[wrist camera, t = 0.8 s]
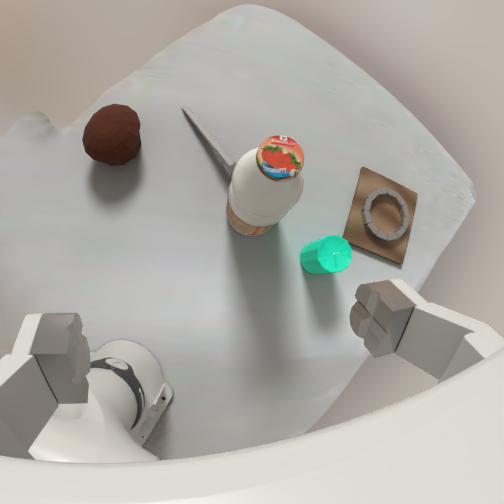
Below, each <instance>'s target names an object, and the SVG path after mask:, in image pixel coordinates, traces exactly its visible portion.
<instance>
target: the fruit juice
mask: <svg viewBox="0 0 504 504" xmlns="http://www.w3.org/2000/svg"><path fill="white" fill-rule="evenodd" d="M303 164H304V155H303V151H302V149H301V147H300V146H299V145H298V144H297V143H296V142H295V141H294V140H292V139H291V138H288V137H285V136H273V137H270V138H268V139H266V140H265V141H264V142H263V143H262V144H261V145H260V147H258V148H255V149H252V150H250V151H249V152H247V153H246V154H244V155H243V156H242V157H241V158H240V160H239V161H238V162H237V164H236V166H235V168H234V171H233V174H232V180H231V183H230V186H229V193H228V199H227V206H226V214H227V218H228V221H229V223H230V224H231V226H232V227H233V228H234V229H235V230H236V231H237V232H239V233H241V234H243V235H246V236H259V235H262V234H264V233H266V232H268V231H269V230H270V229H271V228H272V227H273V226H275V225H276V224H277V223H278V222H279V221H280V220H281V219H282V218H284V217H285V215H286V214H287V213H288V211H289V210H290V209H292V208H293V207H294V206H295V204H296V203H297V202H298V200H299V198H300V196H301V194H302V191H303V185H304V179H303V173H302V170H301V169H302V167H303Z"/></svg>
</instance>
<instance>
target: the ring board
mask: <svg viewBox="0 0 504 504" xmlns="http://www.w3.org/2000/svg"><path fill="white" fill-rule="evenodd" d="M378 188H389V189H391V190H393V191H395V192H397V193H398V194H400V196H401V197H402V198H403V200H404V201H405V202H406V204H407V208H408V212H409V222H408V227H407V229H406V231H405V232H404V233H403V234H402V235H401V237H400V238H398V239H394V240H389V241H381V240H379V239H377V238H374V237H373V236H371V234H370V233H369V232H368V231H367V229H366V228H365V227H364V226H365V225H366V224H365V225H363V221H362V216H361V212H362V211H361V208H362V204H363V200H364V198H365V197H366V196H367V195H368V194H369V193H371V192H372V191H373V190H375V189H378ZM416 200H417V193H415V192H413V191H411V190H410V189H408V188H406V187H404V186H402V185H400V184H398V183H396V182H394V181H392V180H390V179H388V178H386V177H384V176H382V175H380V174H378V173H376V172H374V171H371V170H369V169H367V168H365V167H362V168H361V171H360V175H359V179H358V183H357V187H356V191H355V195H354V198H353V202H352V206H351V209H350V213H349V217H348V220H347V224H346V227H345V231H344V234H343V238H344V239H345V240H347V242H348V243H349V244H352V245H354V246H357V247H359V248H361V249H364V250H366V251H369V252H371V253H374V254H376V255H379V256H381V257H383V258H386V259H388V260H391V261H393V262H395V263H398V264H402V263H403V259H404V255H405V251H406V247H407V243H408V238H409V234H410V229H411V225H412V220H413V215H414V210H415V205H416ZM406 204H405V205H406ZM370 215H371V219H372V222H373V224H374V225H375V226H376V228H377V229H378V230H379V231H381V232H384V233H386V234H392V233H394V231H395V230H396V229H397V228H398V227H399V223H400V219H401V217H400V212H399V208H398V206H397V205H396V204H395V202H394V201H393V200H392V199H391V198H388V197H386V196H384V195H382V196H377V197H376V198H374V199H373V200H372V203H371V207H370Z"/></svg>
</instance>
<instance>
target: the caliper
mask: <svg viewBox="0 0 504 504" xmlns="http://www.w3.org/2000/svg"><path fill="white" fill-rule="evenodd" d="M181 108H182V109H183V110H184V112H185V113H186V115H187V116H188V118H189V119H190V120H191V121H192V123H193V124H194V125H195V126H196V128H197V129H198V130H199V132H200V133H201V134H202V135H203V137H204V138H205V139H206V140H207V142H208V143H209V144H210V146H211V147H212V148H213V149H214V151H215V152H216V153H217V156H218V157H219V159H220V160H221V161H222V163H223V164H224V165H225V166H226V167H227V169H228V172H229V175H230V177H231V179H232V174H233V171H234V168H235V166H236V162H235V163H234V162H233V161H232V160H231V158H230V157H229V156H228V155H227V153H226V152H225V151H224V150H223V148H222V147H221V146H219V144H218V143H217V142H216V141H215V139H214V138H213V137H212V136H211V134H210V133H209V132H208V131H207V129H206V128H205V127H204V126H203V124H202V123H201V122H200V121H199V119H198V118H197V117H196V116H195V115H194V113H193V112H192V111H191V110H190V108H189V107H187V106H186V105H185V106H183V107H181Z"/></svg>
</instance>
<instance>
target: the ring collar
mask: <svg viewBox="0 0 504 504" xmlns="http://www.w3.org/2000/svg"><path fill="white" fill-rule="evenodd" d="M382 195H384V196H386V197H388V198H391V199H392V200H393V201H394V202H395V204H396V205H397V206H398V208H399V212H400V217H401V219H400V223H399V227H398V228H397V229H396V230H395V231H394V233H392V234H386V233H384V232H381V231H379V230H378V229H377V228H376V226H375V225H374V224H373V222H372V219H371V215H370V207H371V203H372V200H373V199H374V198H376V197H377V196H382ZM405 204H406V202H405V201H404V200H403V198H402V197H401V196H400V194H398V193H397V192H395V191H393V190H391V189H389V188H378V189H375V190H373V191H372V192H371V193H369V194H368V195H367V196H366V197H365V198H364V200H363V204H362V208H361V211H362V212H361V216H362V221H363V225H365V224H366V225H365V226H364V227H365V228H366V229H367V231H368V232H369V233H370V234H371V236H373V237H374V238H377V239H379V240H381V241H389V240H394V239H398V238H400V237H401V235H402V234H403V233H404V232H405V231H406V229H407V227H408V222H409V212H408V208H407V204H406V205H405Z"/></svg>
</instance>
